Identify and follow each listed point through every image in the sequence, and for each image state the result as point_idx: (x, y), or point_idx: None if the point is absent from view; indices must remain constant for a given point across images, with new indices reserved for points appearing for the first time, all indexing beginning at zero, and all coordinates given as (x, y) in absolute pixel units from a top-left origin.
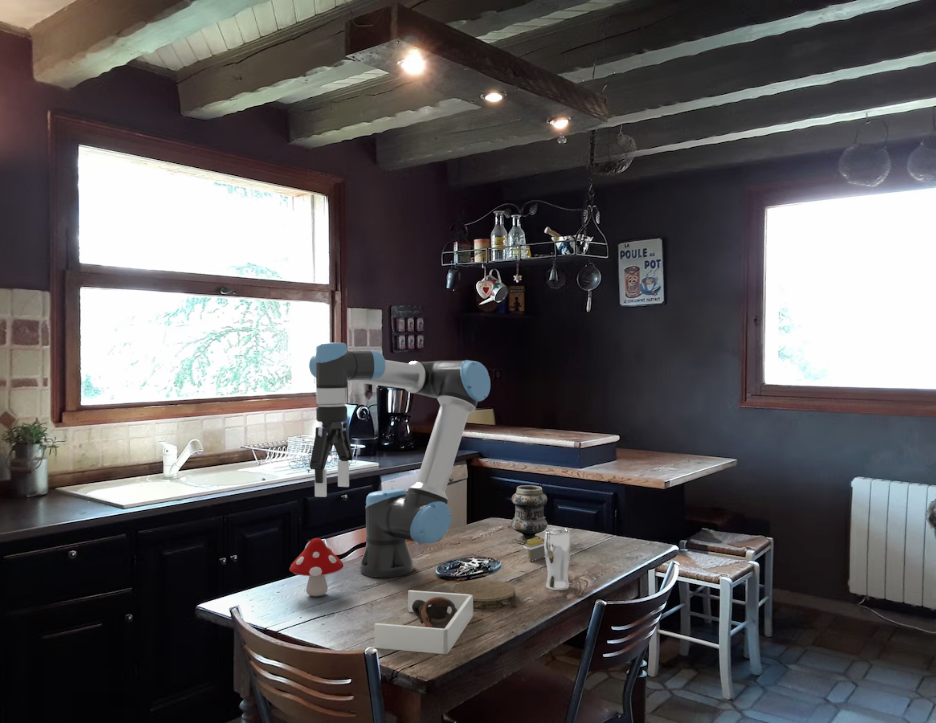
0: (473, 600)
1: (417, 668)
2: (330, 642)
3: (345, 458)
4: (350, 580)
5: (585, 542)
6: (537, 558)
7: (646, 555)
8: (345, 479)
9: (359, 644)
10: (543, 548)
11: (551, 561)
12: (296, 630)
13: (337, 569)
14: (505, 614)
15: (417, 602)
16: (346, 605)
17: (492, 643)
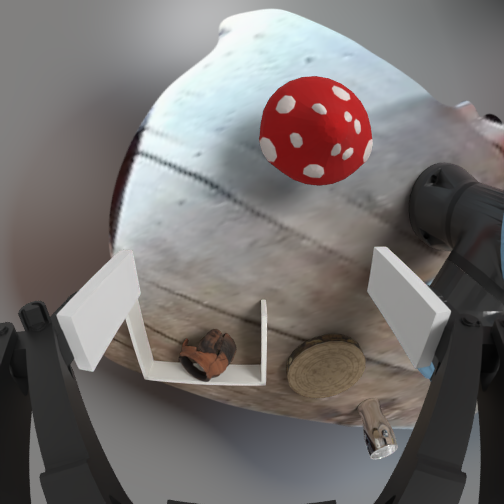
0: (288, 370)
1: (113, 345)
2: (127, 243)
3: (442, 360)
4: (393, 160)
5: None
6: None
7: None
8: (380, 298)
9: None
10: None
11: (366, 427)
12: (147, 177)
13: (304, 182)
14: (276, 389)
15: (205, 344)
16: (269, 201)
17: (192, 390)
